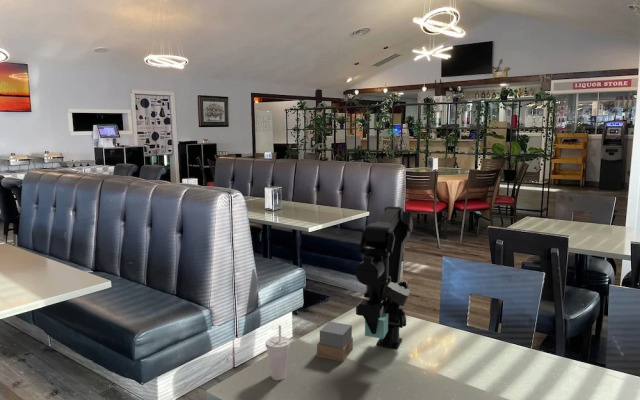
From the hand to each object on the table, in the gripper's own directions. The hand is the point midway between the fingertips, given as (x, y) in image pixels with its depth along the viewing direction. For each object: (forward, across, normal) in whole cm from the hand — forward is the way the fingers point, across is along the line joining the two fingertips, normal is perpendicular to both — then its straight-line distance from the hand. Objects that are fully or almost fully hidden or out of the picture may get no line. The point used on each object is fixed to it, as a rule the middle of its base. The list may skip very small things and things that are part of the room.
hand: (376, 329), depth 123 cm
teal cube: (+1, 0, 0) cm, 1 cm away
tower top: (+7, +4, +13) cm, 15 cm away
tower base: (+11, +4, +13) cm, 18 cm away
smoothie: (+11, -14, +23) cm, 29 cm away
